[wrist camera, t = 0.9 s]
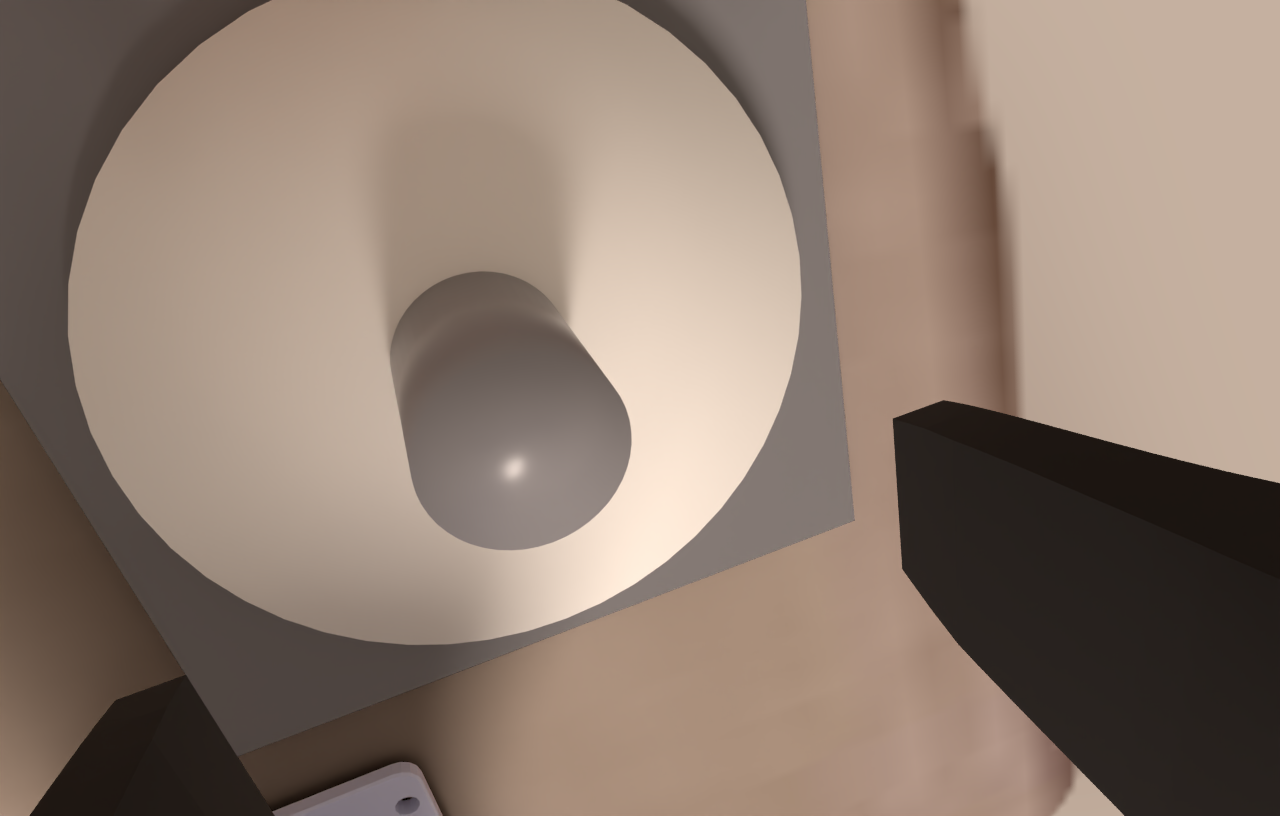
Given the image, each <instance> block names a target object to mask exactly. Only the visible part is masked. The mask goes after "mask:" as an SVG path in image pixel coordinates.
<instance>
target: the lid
mask: <svg viewBox="0 0 1280 816" xmlns="http://www.w3.org/2000/svg"><path fill="white" fill-rule="evenodd" d="M800 310H801V276H800V256H799V251H798V245H797V239H796V234H795V228H794V223H793V217H792V213H791V210H790V207H789V204H788V201H787V198H786V195H785V191H784V188H783V185H782V182H781V179H780V176H779V174H778V171H777V169H776V167H775V165H774V163H773V161H772V159H771V157H770V155H769V152H768V150H767V148H766V146H765V144H764V142H763V140H762V138H761V136H760V134H759V133H758V131H757V130H756V128H755V127H754V125H753V124H752V122H751V120H750V119H749V117H748V116H747V114H746V113H745V111H744V110H743V108H742V107H741V105H740V104H739V102H738V101H737V99H736V98H735V97H734V95H733V94H732V93H731V92H730V91H729V90H728V89H727V87H726V86H725V85H724V84H723V83H722V82H721V81H720V79H719V78H718V77H717V76H716V75H715V74H714V73H713V71H712V70H711V69H710V68H709V67H708V66H707V65H706V63H704V62H703V61H702V60H701V59H700V58H699V57H697V56H696V55H695V54H694V53H693V52H692V51H691V50H689V49H688V48H687V47H686V46H685V45H684V44H682V43H681V42H680V41H679V40H678V39H677V38H675V37H674V36H673V35H672V34H671V33H670V32H668V31H667V30H665V29H664V28H662V27H661V26H659V25H658V24H656V23H654V22H653V21H651V20H650V19H648V18H647V17H645V16H644V15H642V14H640V13H639V12H637V11H636V10H634V9H633V8H631V7H629V6H628V5H626V4H624V3H622V2H620V1H618V0H271V1H269V2H267V3H265V4H263V5H261V6H258V7H256V8H254V9H252V10H250V11H248V12H247V13H245V14H244V15H242V16H241V17H239V18H238V19H236V20H235V21H233V22H232V23H231V24H229V25H228V26H226V27H225V28H223V29H222V30H220V31H219V32H217V33H216V34H214V35H213V36H211V37H210V38H209V39H207V40H206V41H204V42H203V43H201V44H200V45H199V46H198V47H197V48H195V49H194V50H193V51H192V52H191V53H190V54H189V55H188V56H187V57H186V58H185V59H184V60H183V61H182V62H181V63H180V64H178V65H177V66H176V67H175V68H174V69H173V70H172V71H171V72H170V73H169V74H168V75H167V76H166V77H165V78H164V79H163V80H161V81H160V82H159V83H158V84H157V85H156V87H155V88H154V89H153V91H152V92H151V93H150V94H149V96H148V97H147V98H146V100H145V101H144V102H143V103H142V105H141V106H140V107H139V109H138V110H137V111H136V113H135V114H134V115H133V116H132V118H131V119H130V120H129V122H128V123H127V124H126V126H125V127H124V128H123V129H122V131H121V133H120V135H119V137H118V138H117V140H116V142H115V144H114V146H113V148H112V149H111V151H110V153H109V155H108V157H107V159H106V161H105V162H104V164H103V166H102V168H101V170H100V172H99V173H98V175H97V177H96V179H95V182H94V184H93V187H92V190H91V193H90V196H89V199H88V202H87V205H86V208H85V210H84V213H83V216H82V219H81V222H80V225H79V228H78V231H77V236H76V242H75V248H74V253H73V259H72V265H71V271H70V277H69V283H68V339H69V346H70V352H71V359H72V365H73V372H74V378H75V385H76V388H77V391H78V394H79V398H80V401H81V404H82V407H83V410H84V413H85V416H86V419H87V423H88V426H89V429H90V432H91V434H92V436H93V438H94V440H95V442H96V444H97V446H98V448H99V450H100V452H101V454H102V456H103V458H104V460H105V462H106V464H107V466H108V468H109V470H110V472H111V474H112V476H113V477H114V479H115V480H116V482H117V483H118V485H119V486H120V487H121V489H122V490H123V492H124V493H125V495H126V496H127V497H128V499H129V500H130V502H131V503H132V505H133V506H134V507H135V509H136V510H137V512H138V513H139V515H140V516H141V517H142V518H143V519H144V520H145V521H146V522H147V523H148V524H149V525H150V526H151V527H152V529H153V530H154V531H155V532H156V533H157V534H158V535H159V536H160V537H161V538H162V539H163V540H164V541H165V542H166V544H167V545H168V546H169V547H170V548H171V549H172V550H174V551H175V552H176V553H177V554H179V555H180V556H181V557H182V558H183V559H185V560H186V561H187V562H188V563H190V564H191V565H192V566H193V567H194V568H196V569H197V570H198V571H199V572H201V573H202V574H203V575H204V576H205V577H207V578H209V579H210V580H212V581H213V582H215V583H217V584H218V585H220V586H221V587H223V588H225V589H226V590H228V591H229V592H231V593H233V594H234V595H236V596H237V597H239V598H241V599H242V600H244V601H246V602H248V603H250V604H252V605H255V606H257V607H259V608H261V609H263V610H265V611H268V612H270V613H272V614H274V615H276V616H278V617H281V618H283V619H285V620H288V621H291V622H294V623H298V624H301V625H304V626H307V627H310V628H313V629H316V630H319V631H322V632H325V633H330V634H335V635H340V636H345V637H349V638H354V639H359V640H364V641H372V642H383V643H393V644H404V645H438V644H456V643H465V642H474V641H482V640H490V639H495V638H499V637H504V636H508V635H513V634H517V633H522V632H526V631H530V630H533V629H536V628H539V627H542V626H545V625H548V624H551V623H554V622H557V621H560V620H563V619H566V618H569V617H571V616H573V615H575V614H578V613H580V612H582V611H584V610H587V609H589V608H591V607H593V606H596V605H598V604H600V603H602V602H604V601H606V600H607V599H609V598H611V597H613V596H614V595H616V594H618V593H620V592H621V591H623V590H625V589H627V588H629V587H630V586H632V585H634V584H635V583H637V582H638V581H640V580H641V579H643V578H644V577H645V576H647V575H648V574H650V573H651V572H652V571H654V570H655V569H657V568H658V567H659V566H661V565H662V564H664V563H665V562H666V561H668V560H669V559H670V558H671V557H672V556H673V555H674V554H676V553H677V552H678V551H679V550H680V549H681V548H682V547H684V546H685V545H686V544H687V543H688V542H689V541H690V540H692V539H693V538H694V537H695V536H696V535H697V534H698V533H699V532H700V531H701V530H702V528H703V527H704V526H705V525H706V524H707V523H708V522H709V521H710V520H711V519H712V518H713V517H714V516H715V514H716V513H717V512H718V511H719V510H720V509H721V508H722V507H723V505H724V504H725V503H726V501H727V500H728V499H729V497H730V496H731V495H732V493H733V492H734V491H735V489H736V488H737V487H738V485H739V484H740V483H741V481H742V480H743V479H744V477H745V475H746V474H747V472H748V470H749V469H750V467H751V465H752V464H753V462H754V460H755V459H756V457H757V455H758V454H759V452H760V450H761V448H762V447H763V445H764V443H765V441H766V438H767V436H768V434H769V432H770V430H771V427H772V425H773V423H774V421H775V419H776V416H777V414H778V412H779V409H780V406H781V403H782V400H783V397H784V394H785V391H786V388H787V385H788V382H789V379H790V375H791V371H792V366H793V361H794V356H795V351H796V346H797V341H798V336H799V323H800Z"/></svg>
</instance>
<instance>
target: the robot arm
mask: <svg viewBox="0 0 1280 816" xmlns="http://www.w3.org/2000/svg"><path fill="white" fill-rule="evenodd" d="M893 429H894V445H895V461H896V476H897V492H898V508H899V523H900V539H901V555H902V569H903V571H904V572H905V573H906V575H907V576H908V578H909V579H910V580H911V582H912V583H913V584H914V586H915V587H916V589H917V590H918V591H919V593H920V594H921V596H922V597H923V598H924V600H925V601H926V603H927V604H928V605H929V607H930V608H931V609H932V611H933V612H934V613H935V615H936V616H937V617H938V619H939V620H940V621H941V622H942V624H943V625H944V626H945V628H946V629H947V630H948V631H949V633H950V634H951V635H952V637H953V638H954V639H955V641H956V642H957V643H958V644H959V645H960V646H961V648H962V649H963V650H964V651H965V652H966V653H967V654H968V655H969V656H970V657H971V658H972V659H973V660H974V661H975V662H976V664H977V665H978V666H979V667H980V668H981V669H982V670H983V671H984V672H985V673H986V674H987V675H988V676H989V677H990V678H991V679H992V680H993V681H994V682H995V683H996V684H997V685H998V686H999V687H1000V688H1001V690H1002V691H1003V692H1004V693H1005V694H1006V695H1007V696H1008V697H1009V698H1010V699H1011V700H1012V701H1013V702H1014V703H1015V704H1016V705H1017V706H1018V707H1019V708H1020V709H1021V710H1022V711H1023V712H1024V713H1025V714H1026V715H1027V716H1028V717H1029V718H1030V719H1031V720H1032V721H1033V722H1034V723H1035V725H1036V726H1037V727H1038V728H1039V729H1040V730H1041V731H1042V732H1043V733H1044V734H1045V735H1046V736H1047V737H1048V738H1049V739H1050V740H1051V741H1052V742H1053V743H1054V744H1055V745H1056V746H1057V747H1058V748H1059V749H1060V750H1061V751H1062V752H1063V753H1064V754H1065V755H1066V756H1067V757H1068V758H1069V759H1070V760H1071V761H1072V762H1073V763H1074V764H1075V765H1076V766H1077V767H1078V768H1079V770H1080V771H1081V772H1082V773H1083V774H1084V775H1085V776H1086V777H1087V778H1088V779H1089V780H1090V781H1091V782H1092V783H1093V784H1094V785H1095V786H1096V787H1097V788H1098V789H1099V790H1100V791H1101V792H1102V793H1103V794H1104V795H1105V796H1106V797H1107V798H1108V799H1109V800H1110V801H1111V802H1112V803H1113V804H1114V805H1115V806H1116V807H1117V808H1118V809H1119V810H1120V811H1121V812H1122V813H1123V815H1124V816H1280V483H1276V482H1272V481H1267V480H1262V479H1258V478H1253V477H1249V476H1244V475H1239V474H1235V473H1231V472H1226V471H1222V470H1218V469H1213V468H1209V467H1206V466H1201V465H1197V464H1193V463H1189V462H1185V461H1181V460H1177V459H1173V458H1169V457H1165V456H1161V455H1157V454H1153V453H1149V452H1146V451H1142V450H1138V449H1134V448H1131V447H1127V446H1123V445H1119V444H1115V443H1112V442H1108V441H1104V440H1100V439H1097V438H1093V437H1089V436H1086V435H1082V434H1078V433H1074V432H1071V431H1067V430H1063V429H1060V428H1056V427H1052V426H1049V425H1045V424H1041V423H1037V422H1034V421H1030V420H1026V419H1023V418H1019V417H1015V416H1011V415H1007V414H1003V413H999V412H996V411H991V410H987V409H983V408H979V407H975V406H970V405H966V404H961V403H955V402H950V401H944V400H943V401H940V402H938V403H935V404H932V405H929V406H926V407H924V408H921V409H918V410H915V411H913V412H910V413H907V414H904V415H902V416H899V417H896V418H893ZM406 797H413V798H411V799H409V800H404V801H403V800H401V799H403V798H406ZM30 816H443V815H442V813H441V811H440V809H439V807H438V805H437V802H436V800H435V798H434V796H433V794H432V792H431V790H430V788H429V786H428V784H427V782H426V780H425V777H424V775H423V773H422V771H421V770H420V768H419V767H418V766H417V765H415V764H413V763H410V762H398V763H394V764H391V765H388V766H386V767H383V768H381V769H378V770H376V771H373V772H371V773H368V774H366V775H363V776H360V777H358V778H355V779H353V780H350V781H348V782H345V783H343V784H340V785H338V786H335V787H333V788H330V789H328V790H325V791H323V792H320V793H318V794H315V795H313V796H310V797H308V798H305V799H303V800H300V801H297V802H295V803H292V804H290V805H287V806H285V807H282V808H280V809H277V810H275V811H271V809H270V807H269V806H268V804H267V803H266V801H265V799H264V798H263V796H262V795H261V793H260V792H259V790H258V788H257V787H256V785H255V784H254V782H253V780H252V779H251V777H250V776H249V774H248V772H247V771H246V769H245V768H244V766H243V765H242V763H241V761H240V760H239V758H238V757H237V755H236V753H235V752H234V750H233V749H232V747H231V745H230V744H229V742H228V741H227V739H226V738H225V736H224V734H223V733H222V731H221V730H220V728H219V726H218V725H217V723H216V722H215V720H214V718H213V717H212V715H211V714H210V712H209V711H208V709H207V707H206V706H205V704H204V703H203V701H202V699H201V698H200V696H199V695H198V693H197V691H196V690H195V688H194V687H193V685H192V684H191V682H190V680H189V679H188V677H187V676H186V675H184V676H182V677H179V678H176V679H173V680H171V681H168V682H165V683H162V684H160V685H157V686H154V687H151V688H149V689H146V690H143V691H140V692H138V693H135V694H132V695H129V696H127V697H124V698H121V699H118V700H116V701H115V702H114V703H113V704H112V705H111V707H110V708H109V709H108V710H107V712H106V713H105V714H104V715H103V717H102V718H101V719H100V720H99V722H98V723H97V724H96V725H95V727H94V728H93V729H92V731H91V732H90V733H89V735H88V736H87V737H86V739H85V740H84V741H83V743H82V744H81V745H80V747H79V748H78V749H77V751H76V752H75V754H74V755H73V756H72V758H71V759H70V760H69V762H68V763H67V764H66V766H65V767H64V769H63V770H62V771H61V773H60V774H59V775H58V777H57V778H56V780H55V781H54V782H53V784H52V785H51V787H50V788H49V789H48V791H47V792H46V793H45V795H44V796H43V798H42V799H41V800H40V802H39V803H38V805H37V806H36V807H35V809H34V810H33V811H32V813H31V814H30Z"/></svg>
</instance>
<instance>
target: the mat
mask: <svg viewBox="0 0 1280 816" xmlns="http://www.w3.org/2000/svg"><path fill="white" fill-rule="evenodd" d="M269 1H271V0H0V380H1V381H2V383H3V385H4V386H5V388H6V389H7V391H8V393H9V394H10V396H11V397H12V399H13V401H14V402H15V404H16V405H17V407H18V409H19V410H20V412H21V413H22V415H23V416H24V418H25V420H26V421H27V423H28V424H29V426H30V428H31V429H32V431H33V432H34V434H35V436H36V437H37V439H38V440H39V442H40V444H41V445H42V447H43V448H44V450H45V452H46V453H47V455H48V456H49V458H50V459H51V461H52V463H53V464H54V466H55V467H56V469H57V471H58V472H59V474H60V475H61V477H62V479H63V480H64V482H65V483H66V485H67V487H68V488H69V490H70V491H71V493H72V495H73V496H74V498H75V499H76V501H77V503H78V504H79V506H80V507H81V509H82V510H83V512H84V514H85V515H86V517H87V518H88V520H89V522H90V523H91V525H92V526H93V528H94V530H95V531H96V533H97V534H98V536H99V538H100V539H101V541H102V542H103V544H104V546H105V547H106V549H107V550H108V552H109V553H110V555H111V557H112V558H113V560H114V561H115V563H116V565H117V566H118V568H119V569H120V571H121V573H122V574H123V576H124V577H125V579H126V581H127V582H128V584H129V585H130V587H131V589H132V590H133V592H134V593H135V595H136V597H137V598H138V600H139V601H140V603H141V604H142V606H143V608H144V609H145V611H146V612H147V614H148V616H149V617H150V619H151V620H152V622H153V624H154V625H155V627H156V628H157V630H158V632H159V633H160V635H161V636H162V638H163V640H164V641H165V643H166V644H167V646H168V647H169V649H170V651H171V652H172V654H173V655H174V657H175V659H176V660H177V662H178V663H179V665H180V667H181V668H182V670H183V671H184V673H185V675H186V676H187V677H188V679H189V680H190V682H191V684H192V685H193V687H194V688H195V690H196V691H197V693H198V695H199V696H200V698H201V699H202V701H203V703H204V704H205V706H206V707H207V709H208V711H209V712H210V714H211V715H212V717H213V718H214V720H215V722H216V723H217V725H218V726H219V728H220V730H221V731H222V733H223V734H224V736H225V738H226V739H227V741H228V742H229V744H230V745H231V747H232V749H233V750H234V752H235V753H236V755H237V757H238V756H240V755H243V754H246V753H248V752H251V751H253V750H256V749H259V748H261V747H264V746H266V745H269V744H272V743H274V742H277V741H280V740H282V739H285V738H287V737H290V736H293V735H295V734H298V733H300V732H303V731H306V730H308V729H311V728H314V727H316V726H319V725H321V724H324V723H327V722H329V721H332V720H334V719H337V718H340V717H342V716H345V715H348V714H350V713H353V712H355V711H358V710H361V709H363V708H366V707H368V706H371V705H374V704H376V703H379V702H382V701H384V700H387V699H389V698H392V697H395V696H397V695H400V694H402V693H405V692H408V691H410V690H413V689H416V688H418V687H421V686H423V685H426V684H429V683H431V682H434V681H436V680H439V679H442V678H444V677H447V676H450V675H452V674H455V673H457V672H460V671H463V670H465V669H468V668H470V667H473V666H476V665H478V664H481V663H483V662H486V661H489V660H491V659H494V658H497V657H499V656H502V655H504V654H507V653H510V652H512V651H515V650H517V649H520V648H523V647H525V646H528V645H531V644H533V643H536V642H538V641H541V640H544V639H546V638H549V637H551V636H554V635H557V634H559V633H562V632H565V631H567V630H570V629H572V628H575V627H578V626H580V625H583V624H585V623H588V622H591V621H593V620H596V619H599V618H601V617H604V616H606V615H609V614H612V613H614V612H617V611H619V610H622V609H625V608H627V607H630V606H633V605H635V604H638V603H640V602H643V601H646V600H648V599H651V598H653V597H656V596H659V595H661V594H664V593H667V592H669V591H672V590H674V589H677V588H680V587H682V586H685V585H687V584H690V583H693V582H695V581H698V580H701V579H703V578H706V577H708V576H711V575H714V574H716V573H719V572H721V571H724V570H727V569H729V568H732V567H734V566H737V565H740V564H742V563H745V562H748V561H750V560H753V559H755V558H758V557H761V556H763V555H766V554H768V553H771V552H774V551H776V550H779V549H782V548H784V547H787V546H789V545H792V544H795V543H797V542H800V541H802V540H805V539H808V538H810V537H813V536H816V535H818V534H821V533H823V532H826V531H829V530H831V529H834V528H836V527H839V526H842V525H844V524H847V523H850V522H852V521H855V519H854V509H853V498H852V487H851V477H850V466H849V455H848V445H847V434H846V423H845V413H844V402H843V391H842V381H841V370H840V359H839V349H838V338H837V327H836V317H835V306H834V295H833V285H832V274H831V263H830V253H829V242H828V231H827V221H826V210H825V199H824V189H823V178H822V167H821V157H820V146H819V135H818V125H817V114H816V103H815V93H814V82H813V71H812V61H811V50H810V39H809V29H808V18H807V8H806V0H618V1H620V2H622V3H624V4H626V5H628V6H629V7H631V8H633V9H634V10H636V11H637V12H639V13H640V14H642V15H644V16H645V17H647V18H648V19H650V20H651V21H653V22H654V23H656V24H658V25H659V26H661V27H662V28H664V29H665V30H667V31H668V32H670V33H671V34H672V35H673V36H674V37H675V38H677V39H678V40H679V41H680V42H681V43H682V44H684V45H685V46H686V47H687V48H688V49H689V50H691V51H692V52H693V53H694V54H695V55H696V56H697V57H699V58H700V59H701V60H702V61H703V62H704V63H706V65H707V66H708V67H709V68H710V69H711V70H712V71H713V73H714V74H715V75H716V76H717V77H718V78H719V79H720V81H721V82H722V83H723V84H724V85H725V86H726V87H727V89H728V90H729V91H730V92H731V93H732V94H733V95H734V97H735V98H736V99H737V101H738V102H739V104H740V105H741V107H742V108H743V110H744V111H745V113H746V114H747V116H748V117H749V119H750V120H751V122H752V124H753V125H754V127H755V128H756V130H757V131H758V133H759V134H760V136H761V138H762V140H763V142H764V144H765V146H766V148H767V150H768V152H769V155H770V157H771V159H772V161H773V163H774V165H775V167H776V169H777V171H778V174H779V176H780V179H781V182H782V185H783V188H784V191H785V195H786V198H787V201H788V204H789V207H790V210H791V213H792V217H793V223H794V228H795V234H796V239H797V245H798V251H799V256H800V276H801V310H800V323H799V336H798V341H797V346H796V351H795V356H794V361H793V366H792V371H791V375H790V379H789V382H788V385H787V388H786V391H785V394H784V397H783V400H782V403H781V406H780V409H779V412H778V414H777V416H776V419H775V421H774V423H773V425H772V427H771V430H770V432H769V434H768V436H767V438H766V441H765V443H764V445H763V447H762V448H761V450H760V452H759V454H758V455H757V457H756V459H755V460H754V462H753V464H752V465H751V467H750V469H749V470H748V472H747V474H746V475H745V477H744V479H743V480H742V481H741V483H740V484H739V485H738V487H737V488H736V489H735V491H734V492H733V493H732V495H731V496H730V497H729V499H728V500H727V501H726V503H725V504H724V505H723V507H722V508H721V509H720V510H719V511H718V512H717V513H716V514H715V516H714V517H713V518H712V519H711V520H710V521H709V522H708V523H707V524H706V525H705V526H704V527H703V528H702V530H701V531H700V532H699V533H698V534H697V535H696V536H695V537H694V538H693V539H692V540H690V541H689V542H688V543H687V544H686V545H685V546H684V547H682V548H681V549H680V550H679V551H678V552H677V553H676V554H674V555H673V556H672V557H671V558H670V559H669V560H668V561H666V562H665V563H664V564H662V565H661V566H659V567H658V568H657V569H655V570H654V571H652V572H651V573H650V574H648V575H647V576H645V577H644V578H643V579H641V580H640V581H638V582H637V583H635V584H634V585H632V586H630V587H629V588H627V589H625V590H623V591H621V592H620V593H618V594H616V595H614V596H613V597H611V598H609V599H607V600H606V601H604V602H602V603H600V604H598V605H596V606H593V607H591V608H589V609H587V610H584V611H582V612H580V613H578V614H575V615H573V616H571V617H569V618H566V619H563V620H560V621H557V622H554V623H551V624H548V625H545V626H542V627H539V628H536V629H533V630H530V631H526V632H522V633H517V634H513V635H508V636H504V637H499V638H495V639H490V640H482V641H474V642H465V643H456V644H438V645H404V644H393V643H383V642H372V641H364V640H359V639H354V638H349V637H345V636H340V635H335V634H330V633H325V632H322V631H319V630H316V629H313V628H310V627H307V626H304V625H301V624H298V623H294V622H291V621H288V620H285V619H283V618H281V617H278V616H276V615H274V614H272V613H270V612H268V611H265V610H263V609H261V608H259V607H257V606H255V605H252V604H250V603H248V602H246V601H244V600H242V599H241V598H239V597H237V596H236V595H234V594H233V593H231V592H229V591H228V590H226V589H225V588H223V587H221V586H220V585H218V584H217V583H215V582H213V581H212V580H210V579H209V578H207V577H205V576H204V575H203V574H202V573H201V572H199V571H198V570H197V569H196V568H194V567H193V566H192V565H191V564H190V563H188V562H187V561H186V560H185V559H183V558H182V557H181V556H180V555H179V554H177V553H176V552H175V551H174V550H172V549H171V548H170V547H169V546H168V545H167V544H166V542H165V541H164V540H163V539H162V538H161V537H160V536H159V535H158V534H157V533H156V532H155V531H154V530H153V529H152V527H151V526H150V525H149V524H148V523H147V522H146V521H145V520H144V519H143V518H142V517H141V516H140V515H139V513H138V512H137V510H136V509H135V507H134V506H133V505H132V503H131V502H130V500H129V499H128V497H127V496H126V495H125V493H124V492H123V490H122V489H121V487H120V486H119V485H118V483H117V482H116V480H115V479H114V477H113V476H112V474H111V472H110V470H109V468H108V466H107V464H106V462H105V460H104V458H103V456H102V454H101V452H100V450H99V448H98V446H97V444H96V442H95V440H94V438H93V436H92V434H91V432H90V429H89V426H88V423H87V419H86V416H85V413H84V410H83V407H82V404H81V401H80V398H79V394H78V391H77V388H76V385H75V378H74V372H73V365H72V359H71V352H70V346H69V339H68V283H69V277H70V271H71V265H72V259H73V253H74V248H75V242H76V236H77V231H78V228H79V225H80V222H81V219H82V216H83V213H84V210H85V208H86V205H87V202H88V199H89V196H90V193H91V190H92V187H93V184H94V182H95V179H96V177H97V175H98V173H99V172H100V170H101V168H102V166H103V164H104V162H105V161H106V159H107V157H108V155H109V153H110V151H111V149H112V148H113V146H114V144H115V142H116V140H117V138H118V137H119V135H120V133H121V131H122V129H123V128H124V127H125V126H126V124H127V123H128V122H129V120H130V119H131V118H132V116H133V115H134V114H135V113H136V111H137V110H138V109H139V107H140V106H141V105H142V103H143V102H144V101H145V100H146V98H147V97H148V96H149V94H150V93H151V92H152V91H153V89H154V88H155V87H156V85H157V84H158V83H159V82H160V81H161V80H163V79H164V78H165V77H166V76H167V75H168V74H169V73H170V72H171V71H172V70H173V69H174V68H175V67H176V66H177V65H178V64H180V63H181V62H182V61H183V60H184V59H185V58H186V57H187V56H188V55H189V54H190V53H191V52H192V51H193V50H194V49H195V48H197V47H198V46H199V45H200V44H201V43H203V42H204V41H206V40H207V39H209V38H210V37H211V36H213V35H214V34H216V33H217V32H219V31H220V30H222V29H223V28H225V27H226V26H228V25H229V24H231V23H232V22H233V21H235V20H236V19H238V18H239V17H241V16H242V15H244V14H245V13H247V12H248V11H250V10H252V9H254V8H256V7H258V6H261V5H263V4H265V3H267V2H269Z"/></svg>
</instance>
